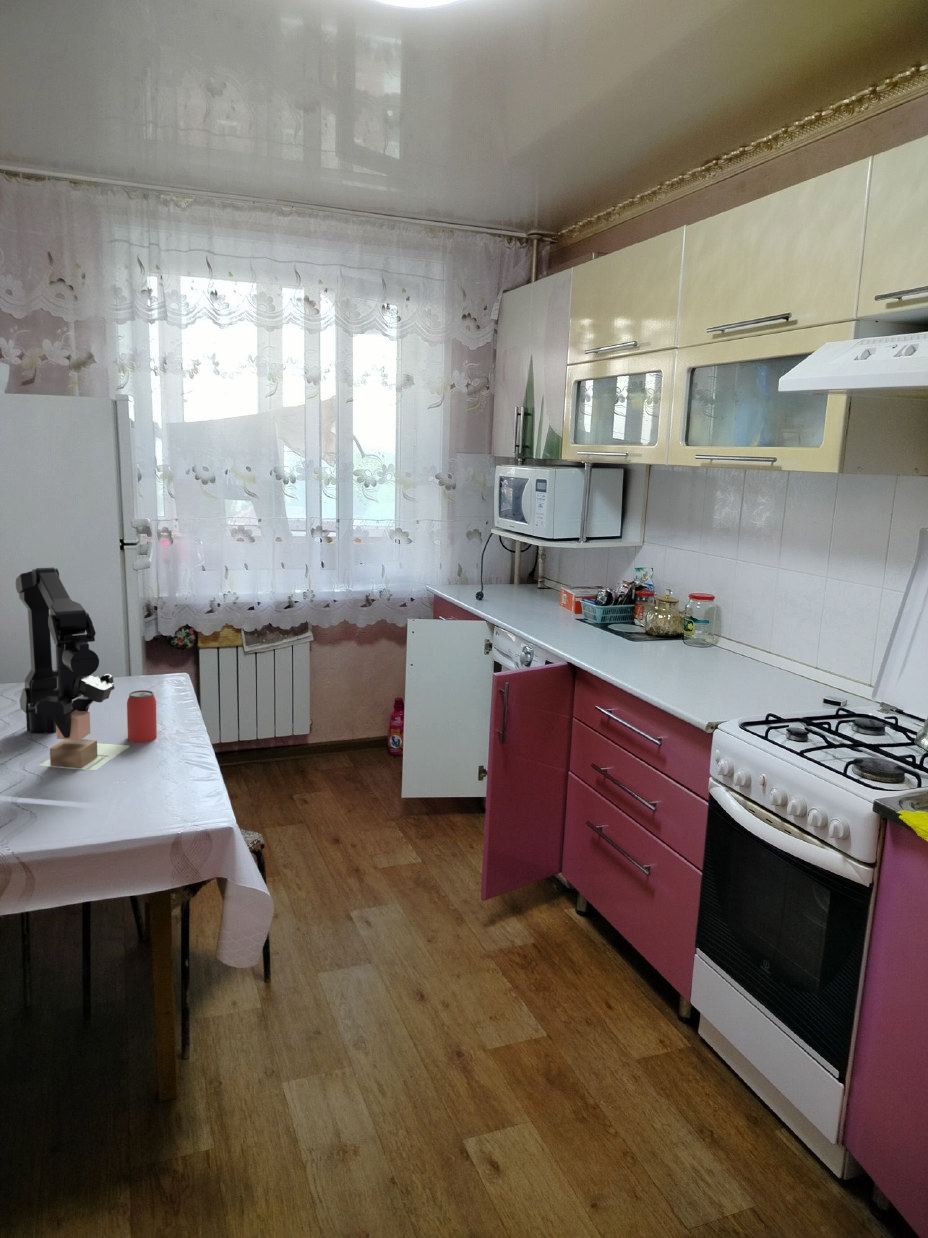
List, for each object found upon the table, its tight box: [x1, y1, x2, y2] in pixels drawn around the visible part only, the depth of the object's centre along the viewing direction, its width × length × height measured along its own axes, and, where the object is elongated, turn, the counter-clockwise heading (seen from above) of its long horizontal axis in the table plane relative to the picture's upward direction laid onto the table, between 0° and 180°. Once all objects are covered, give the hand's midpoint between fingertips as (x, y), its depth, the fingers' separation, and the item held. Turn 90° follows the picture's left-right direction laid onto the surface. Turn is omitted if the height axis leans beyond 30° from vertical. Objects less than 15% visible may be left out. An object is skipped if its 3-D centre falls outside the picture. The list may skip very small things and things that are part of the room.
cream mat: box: [38, 742, 130, 771], centre depth 192 cm, size 13×16×1 cm
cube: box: [55, 711, 91, 741], centre depth 187 cm, size 5×5×5 cm
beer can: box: [126, 689, 158, 743], centre depth 205 cm, size 7×7×12 cm
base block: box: [49, 738, 98, 768], centre depth 188 cm, size 7×7×4 cm
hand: (73, 733), depth 187 cm, fingers closed on cube, 5 cm apart
